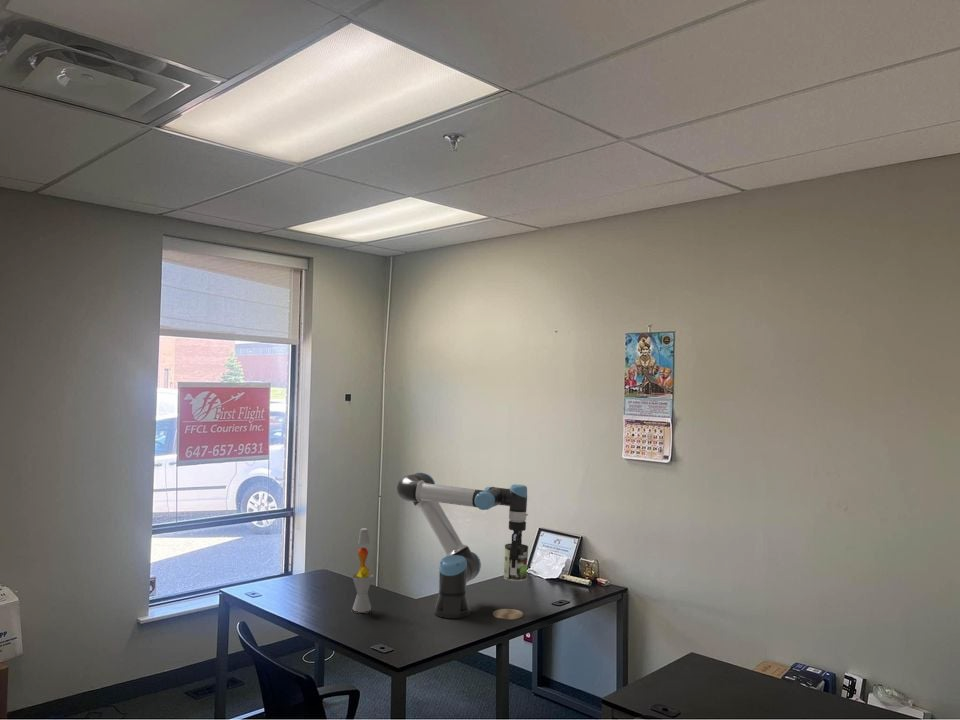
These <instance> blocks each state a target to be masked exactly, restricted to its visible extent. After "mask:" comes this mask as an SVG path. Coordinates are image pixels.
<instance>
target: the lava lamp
mask: <svg viewBox="0 0 960 720" xmlns="http://www.w3.org/2000/svg"><path fill="white" fill-rule="evenodd" d="M357 542H358V543H357V544H358V545H370V537H369V530H368V528H365V527H364V528H360V530H359V535H358V540H357ZM368 554H369V550H368V549H367V548H366V547H360V548H359V549H358V550H357V555H358V558H359V562H360V566H359V568H358V569H359V570H358V572H357V573H354V574H352V576H351V577H352V581H353V583H354V587H355V590H356V593H357V594H356V596H355V600H354V603H353V605H352V609H353V610H354V611H358V612H365V611H369V610H371V608H372V604H371V602H370V601H371V600H370V598H369V594H368V592H369V589H370V587H371V583H372V581H373V578H374V574H372V573H370V569H369V567H368V566H366V560H367V557H368Z"/></svg>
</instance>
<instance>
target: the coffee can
mask: <svg viewBox="0 0 960 720" xmlns="http://www.w3.org/2000/svg"><path fill="white" fill-rule="evenodd" d="M528 553H529V546H528V545H527V544H525V543H524V544H523V543H522V544H520V545H518V548H517V575H510V565H511V560H509V558H510V554H511V543H506V544H504V559H503V560H504V563H503V564H504V565H503V579H504V580H506V581H510V582H524V581H527V579H528V575H527V574H528V555H529V554H528ZM513 557H515V556H513Z"/></svg>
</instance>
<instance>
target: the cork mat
mask: <svg viewBox="0 0 960 720" xmlns="http://www.w3.org/2000/svg"><path fill="white" fill-rule="evenodd" d="M492 616H493V617H495V618H496V619H499V620H510V621H511V620H512V621H513V620H514V621H515V620H518V619H522V618H523V617H524V612H523V611H522V610H518V609H514V608H499V609H496V610H494V611H492Z"/></svg>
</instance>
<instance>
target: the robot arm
mask: <svg viewBox="0 0 960 720" xmlns="http://www.w3.org/2000/svg"><path fill="white" fill-rule="evenodd" d="M396 493H397V494H398V496H399V497H400V499H402V500H403V501H405V502H412V503H413V505H414V507H415V508H418V509H420V511H421V512H422V515H423V516H424V517H425V520H426V522H427V523H428V525H429V526H430V528H431V530H432V531H433V533H434V535H435V537H436V538H437V540H438V542H439V544H440V546H441V547H442V549H443V551H444V553H445V554H446V555H445V556H444V557H443V558H441V559H440V561H439V567H438V569H439V571H438V574H439V575H438V576H439V577H438V578H439V580H438V582H439V583H438V596H437V600H436V603H435V606H434V615H435V614H436V615H435V616H436V617H439V616H440V617H439V618H442V617H444V618H443V619H462V618H466V617H469V615H470V611H471V608H470V605H469V601H468V597H467V583H468V582H470V581H472V580H474V579H475V578H476V577H478V575H479V573H480V571H481V568H482V563H481V559H480V557H479V556H478V554H476V553H475V552H473V551H471V549H470V547H469V546H468V545H467V544H463V542H462V541H461V539H460V537H459V536H458V534H457V532H456V530H455V529H454V527H453V525H452V523H451V521H450V520H449V518H448V517H447V515H446V513H445V512H444V509H443V508H442V506H441V504H449V505H456V506H457V505H458V506H465V507H472V508H473V507H474V508H477V509H479V510H481V511H487V510H490V509H492V508H494V507H496V506H503V507H504V506H507V507H508V508H509V511H508V519H509V520H508V530H510V531H513V533H512V534H511V543H510V544H511V554H510V558H509V560H511V565H510V575H517V548H518V545H520V544H523V543H522V542H523V541H522V538H523V531H527V530H526V529H527V528H526V527H527V522H526V521H527V516H528V515H529V514H528V513H527V508H528V507H527V506H528V487H527V485H524V484H511V485H510V488H505V487H496V486H486V487H485V488H484V490H482V489H475V488H466V487H460V486H453V485H443V484H442V485H441V484H436V482H435V480H434V478H433V477H432V476H431V475H430V474H428V473H426V472H416V473H412V474H409V475H408V474H407V475H404V476H403V477H402V478H400V479H399V480H398V482H397V484H396ZM440 503H441V504H440ZM513 556H515V557H513Z"/></svg>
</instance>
